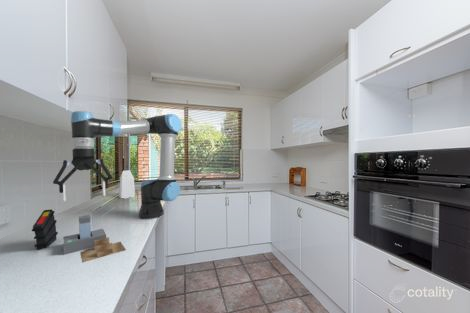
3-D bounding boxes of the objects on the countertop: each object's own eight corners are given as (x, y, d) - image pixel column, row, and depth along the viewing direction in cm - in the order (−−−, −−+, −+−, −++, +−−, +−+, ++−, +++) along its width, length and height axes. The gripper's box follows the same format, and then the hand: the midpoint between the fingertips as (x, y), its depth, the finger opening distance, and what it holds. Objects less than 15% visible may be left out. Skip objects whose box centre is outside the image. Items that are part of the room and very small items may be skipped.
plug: (89, 242, 90) (89, 214, 90) (91, 245, 86) (90, 217, 86) (79, 244, 88) (78, 216, 88) (80, 248, 84) (79, 219, 84)
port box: (103, 239, 95) (102, 228, 95) (106, 246, 88) (106, 234, 88) (63, 248, 86) (63, 236, 86) (63, 257, 79) (63, 243, 79)
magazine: (60, 233, 100) (53, 208, 94) (49, 256, 89) (40, 229, 83) (50, 234, 99) (43, 209, 93) (38, 257, 87) (28, 231, 81)
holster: (120, 243, 90) (120, 233, 90) (126, 252, 81) (126, 241, 81) (80, 254, 81) (80, 242, 81) (82, 265, 72) (82, 252, 72)
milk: (132, 195, 209) (131, 169, 209) (135, 197, 200) (134, 170, 200) (119, 197, 202) (118, 170, 201) (121, 198, 192) (120, 171, 192)
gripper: (43, 147, 77) (45, 204, 77) (118, 147, 93) (120, 194, 93) (44, 148, 82) (46, 201, 83) (115, 148, 99) (116, 192, 99)
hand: (85, 198), depth 88 cm, fingers open, 13 cm apart
